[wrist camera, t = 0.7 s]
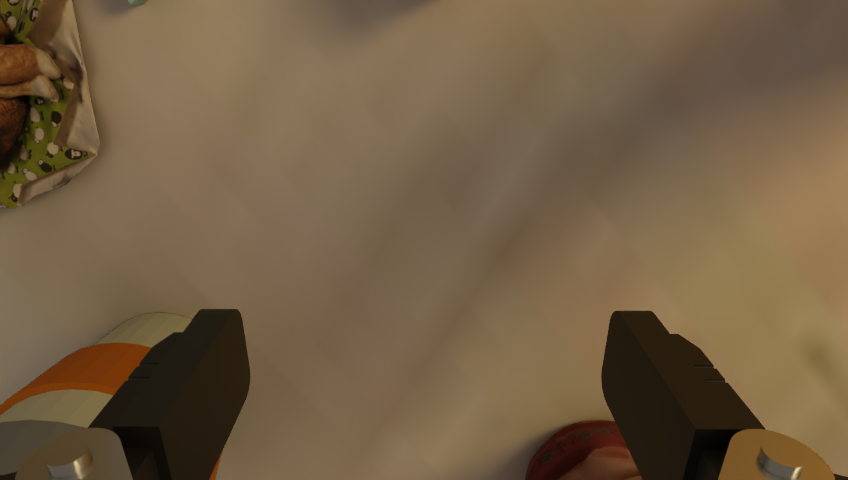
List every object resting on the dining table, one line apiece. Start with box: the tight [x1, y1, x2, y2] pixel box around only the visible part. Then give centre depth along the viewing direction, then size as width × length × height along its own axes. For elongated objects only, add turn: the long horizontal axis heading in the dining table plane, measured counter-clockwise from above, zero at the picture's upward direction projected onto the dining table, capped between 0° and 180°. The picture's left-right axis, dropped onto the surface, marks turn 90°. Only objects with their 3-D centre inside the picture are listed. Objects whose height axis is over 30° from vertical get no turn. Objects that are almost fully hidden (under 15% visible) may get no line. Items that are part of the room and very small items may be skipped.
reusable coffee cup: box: [0, 313, 223, 480], centre depth 30 cm, size 13×13×15 cm
